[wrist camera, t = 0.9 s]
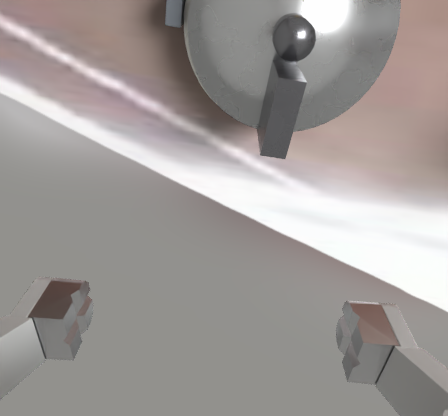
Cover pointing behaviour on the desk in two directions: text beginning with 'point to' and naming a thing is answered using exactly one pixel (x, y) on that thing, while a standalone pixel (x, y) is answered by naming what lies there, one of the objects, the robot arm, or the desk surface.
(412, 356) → the robot arm
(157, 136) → the desk surface
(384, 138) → the desk surface
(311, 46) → the dial
